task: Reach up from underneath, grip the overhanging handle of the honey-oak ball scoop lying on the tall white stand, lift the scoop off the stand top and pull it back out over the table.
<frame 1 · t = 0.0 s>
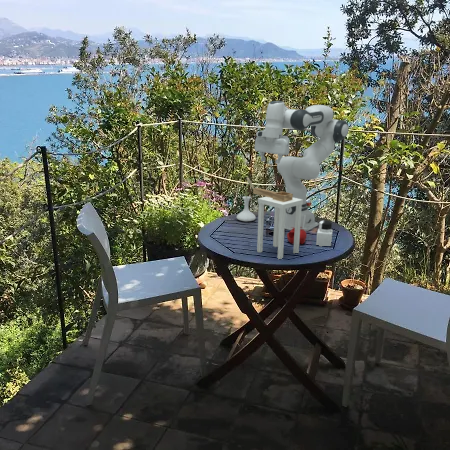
hand: (270, 162, 227), 39 cm above the table, tool pointing down, fingers open, 8 cm apart
flower in vase: (246, 220, 267), on the table
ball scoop: (270, 196, 211), point 26 cm above the table, touching tall stand
medicine bottle: (323, 244, 227), on the table
pomegranate: (296, 243, 229), on the table
tall stand: (277, 252, 215), on the table
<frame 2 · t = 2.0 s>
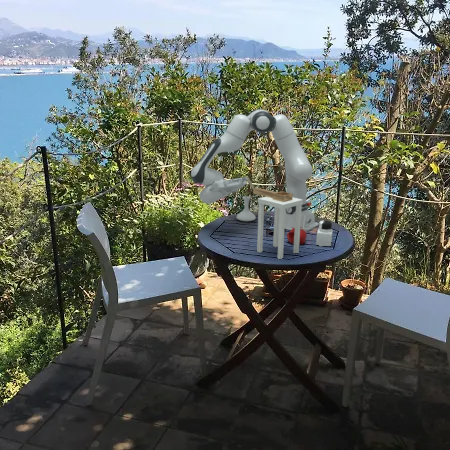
hand: (239, 179, 224), 31 cm above the table, tool pointing upward, fingers open, 8 cm apart
nothing on the table moved.
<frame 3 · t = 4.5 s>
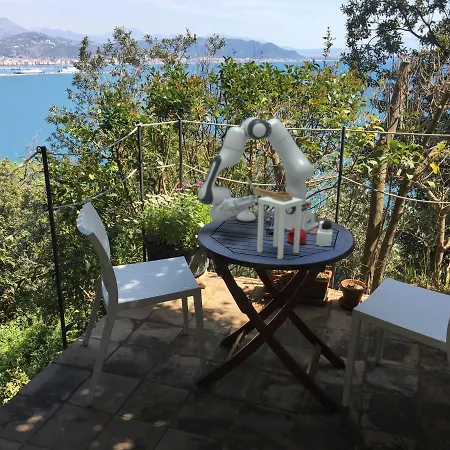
hand: (249, 197, 222), 23 cm above the table, tool pointing upward, fingers open, 8 cm apart
nothing on the table moved.
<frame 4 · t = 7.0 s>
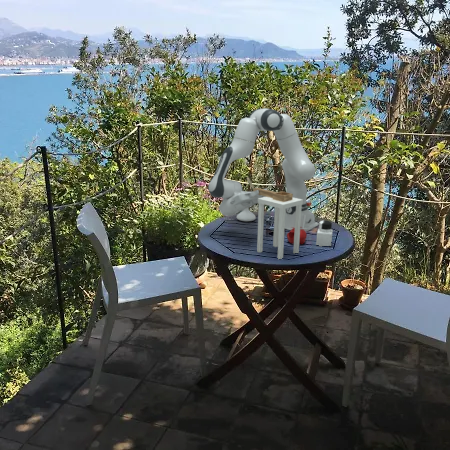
hand: (261, 191, 215), 28 cm above the table, tool pointing upward, fingers closed on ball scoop, 2 cm apart
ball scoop: (270, 196, 211), point 26 cm above the table, touching gripper, tall stand
everything else where it was.
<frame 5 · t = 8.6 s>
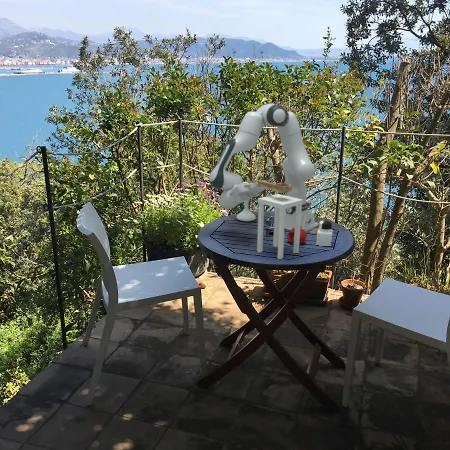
hand: (260, 182, 214), 32 cm above the table, tool pointing upward, fingers closed on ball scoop, 2 cm apart
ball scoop: (269, 188, 211), point 30 cm above the table, touching gripper
everything else where it was.
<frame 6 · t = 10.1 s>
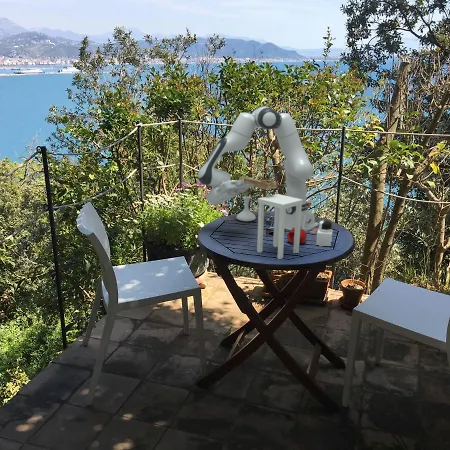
hand: (247, 179, 220), 32 cm above the table, tool pointing upward, fingers closed on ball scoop, 2 cm apart
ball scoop: (255, 185, 217), point 30 cm above the table, touching gripper
everything else where it was.
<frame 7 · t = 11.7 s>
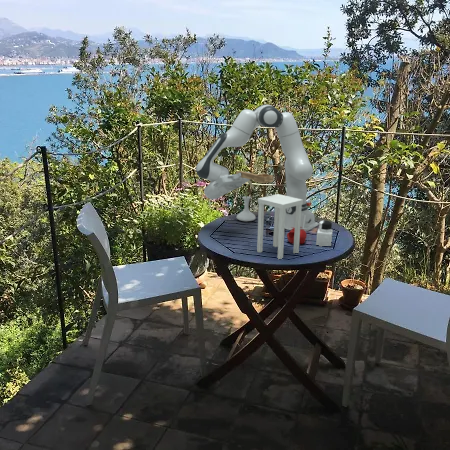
hand: (243, 173, 221), 34 cm above the table, tool pointing upward, fingers closed on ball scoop, 2 cm apart
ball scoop: (252, 179, 218), point 33 cm above the table, touching gripper
everything else where it was.
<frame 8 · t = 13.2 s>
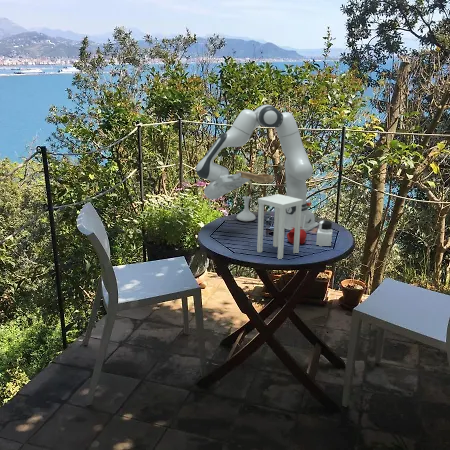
hand: (243, 173, 221), 34 cm above the table, tool pointing upward, fingers closed on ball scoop, 2 cm apart
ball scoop: (252, 178, 218), point 33 cm above the table, touching gripper
everything else where it was.
at the end: the gripper is holding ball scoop; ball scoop moved 13.6 cm from its start; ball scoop point 32.6 cm above the table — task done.
